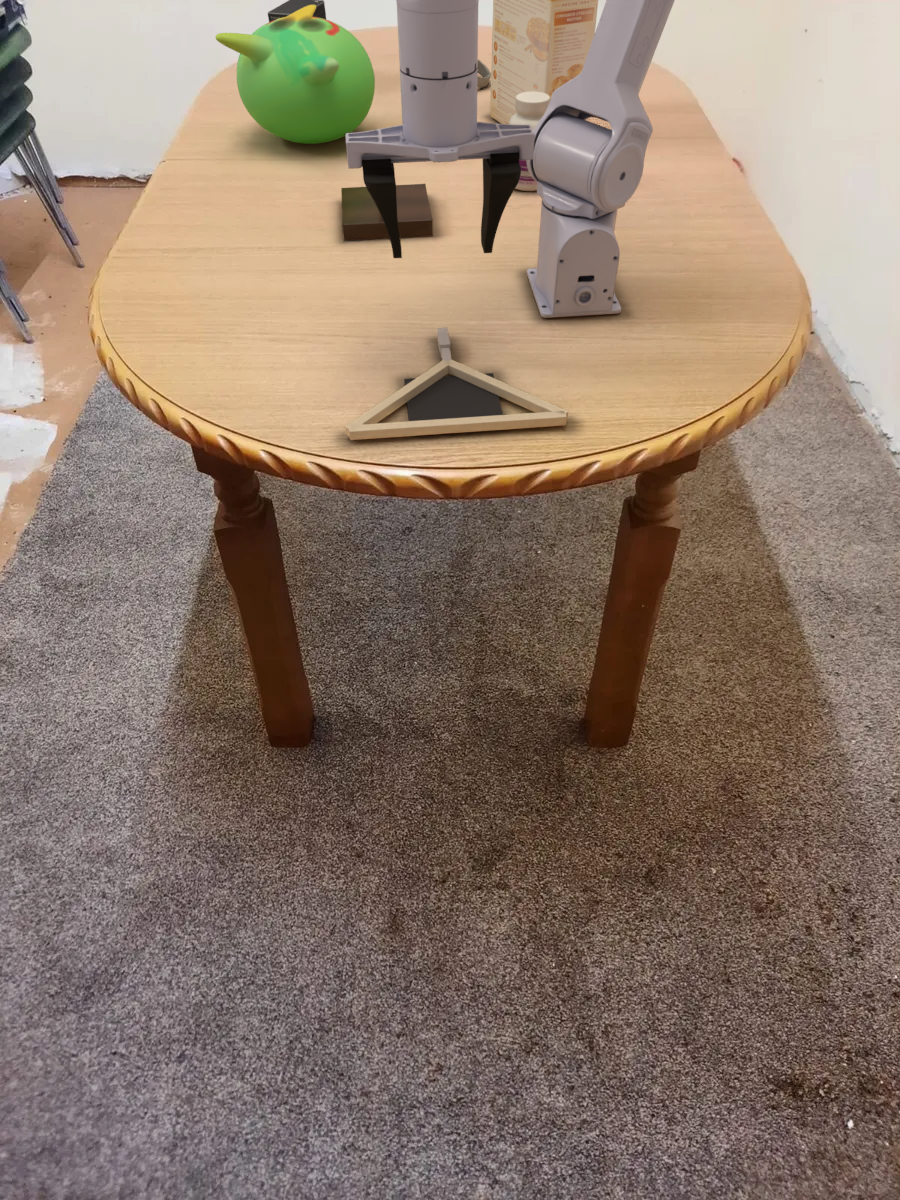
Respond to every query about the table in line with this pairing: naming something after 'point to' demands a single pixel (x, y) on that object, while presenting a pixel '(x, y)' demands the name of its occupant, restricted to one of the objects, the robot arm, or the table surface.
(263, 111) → the toy bird
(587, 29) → the coffeecake box
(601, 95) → the robot arm
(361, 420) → the hanger
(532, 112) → the pill bottle
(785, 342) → the table surface
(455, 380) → the mat
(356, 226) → the block
